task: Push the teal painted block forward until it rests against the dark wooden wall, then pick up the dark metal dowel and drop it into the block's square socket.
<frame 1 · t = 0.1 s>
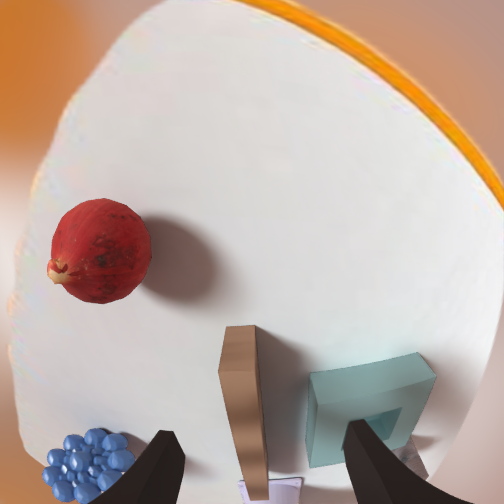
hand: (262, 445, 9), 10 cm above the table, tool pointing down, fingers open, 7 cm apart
grapes: (106, 434, 24), on the table
block: (358, 400, 21), on the table
onion: (129, 235, 17), on the table
wall: (252, 417, 21), on the table
dowel: (398, 441, 24), on the table
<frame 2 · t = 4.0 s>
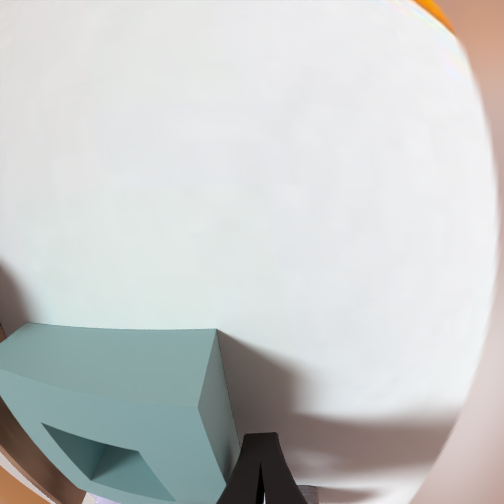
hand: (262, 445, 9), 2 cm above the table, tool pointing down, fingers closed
block: (135, 410, 11), on the table, touching gripper
wall: (23, 386, 11), on the table
dowel: (294, 493, 13), on the table
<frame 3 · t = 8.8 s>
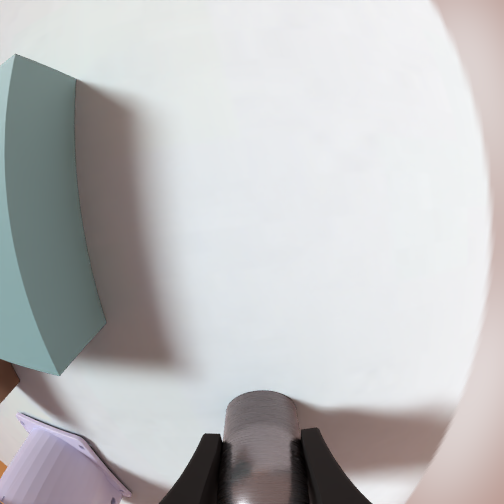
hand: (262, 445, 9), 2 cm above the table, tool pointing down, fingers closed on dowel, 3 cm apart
block: (11, 218, 9), on the table
dowel: (261, 413, 11), on the table, touching gripper
when the fingers open (5 cm above the table, at t = 12.2 s): dowel drops 3 cm, resting on block.
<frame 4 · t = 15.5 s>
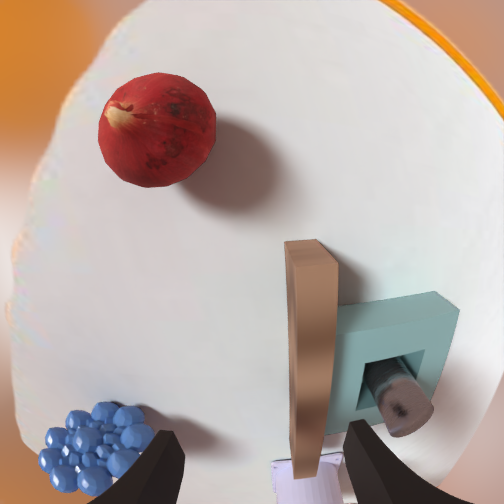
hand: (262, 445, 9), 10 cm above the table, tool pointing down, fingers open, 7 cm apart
grapes: (118, 409, 22), on the table
block: (372, 352, 20), on the table, touching dowel
onion: (178, 139, 16), on the table
wall: (302, 367, 20), on the table
dowel: (377, 360, 19), point 1 cm above the table, touching block
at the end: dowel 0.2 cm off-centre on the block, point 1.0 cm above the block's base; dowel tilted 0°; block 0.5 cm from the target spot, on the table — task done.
